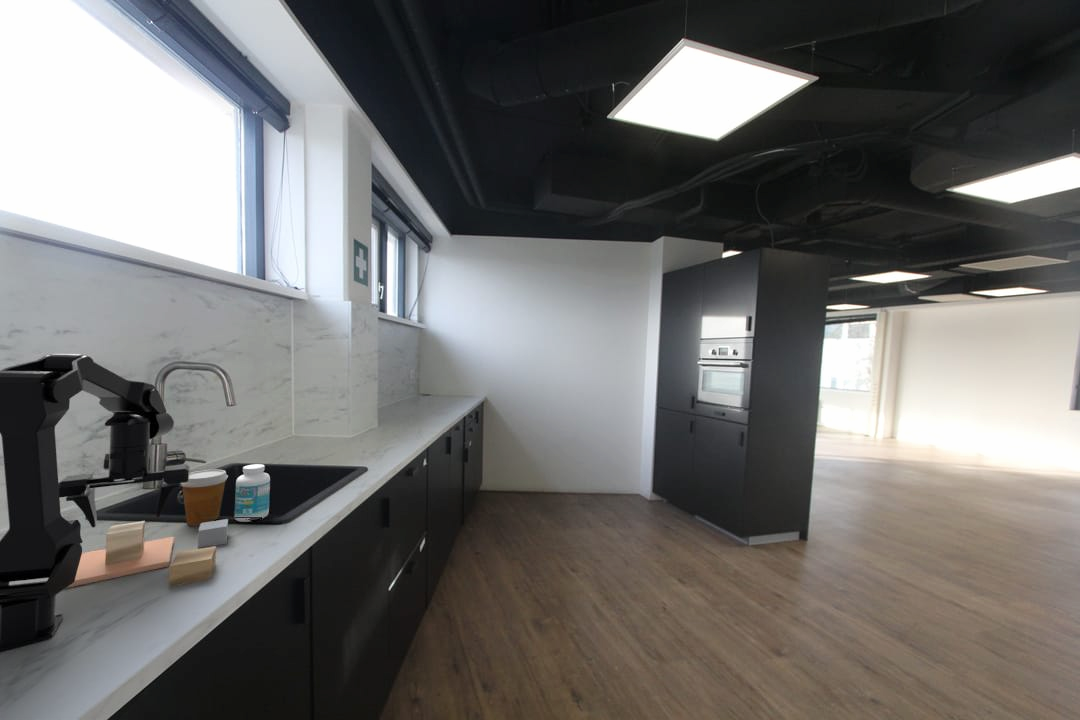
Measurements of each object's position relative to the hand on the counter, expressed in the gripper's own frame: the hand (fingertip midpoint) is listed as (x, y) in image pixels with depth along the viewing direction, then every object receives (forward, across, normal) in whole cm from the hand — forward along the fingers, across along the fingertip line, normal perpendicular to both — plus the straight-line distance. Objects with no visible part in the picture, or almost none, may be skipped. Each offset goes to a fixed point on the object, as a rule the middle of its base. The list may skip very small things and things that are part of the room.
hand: (127, 521), depth 84 cm
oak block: (+8, -11, +14) cm, 20 cm away
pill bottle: (+8, -22, -14) cm, 27 cm away
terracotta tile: (+8, 0, 0) cm, 8 cm away
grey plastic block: (+8, -14, -2) cm, 16 cm away
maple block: (+7, 0, 0) cm, 7 cm away
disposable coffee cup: (+8, -12, -18) cm, 23 cm away
